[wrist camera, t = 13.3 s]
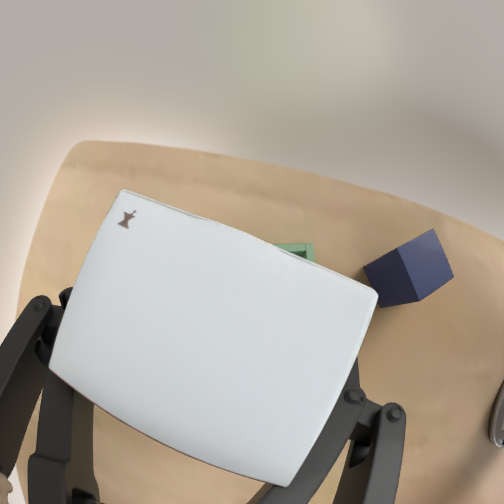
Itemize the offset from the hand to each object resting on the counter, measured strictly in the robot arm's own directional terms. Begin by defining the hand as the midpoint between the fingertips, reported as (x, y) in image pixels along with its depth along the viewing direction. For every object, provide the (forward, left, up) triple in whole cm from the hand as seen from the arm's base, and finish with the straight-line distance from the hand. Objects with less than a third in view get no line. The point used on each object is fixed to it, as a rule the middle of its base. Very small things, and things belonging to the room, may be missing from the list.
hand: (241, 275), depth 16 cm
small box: (+1, +3, -4) cm, 5 cm away
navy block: (-16, -1, -13) cm, 20 cm away
